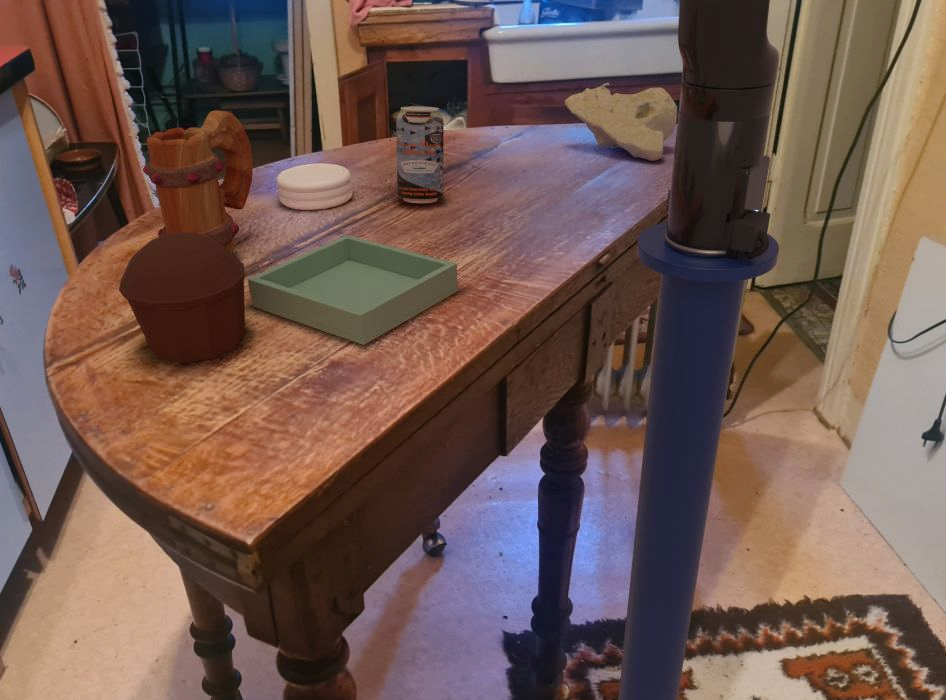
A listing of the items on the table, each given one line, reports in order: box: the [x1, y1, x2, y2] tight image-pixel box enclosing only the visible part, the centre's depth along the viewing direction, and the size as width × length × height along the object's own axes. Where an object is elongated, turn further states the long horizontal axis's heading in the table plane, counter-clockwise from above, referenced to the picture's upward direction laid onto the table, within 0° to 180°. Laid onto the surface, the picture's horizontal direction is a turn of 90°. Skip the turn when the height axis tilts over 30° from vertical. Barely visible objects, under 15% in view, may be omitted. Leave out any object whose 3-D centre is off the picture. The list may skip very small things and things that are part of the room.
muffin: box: [118, 233, 246, 364], centre depth 79 cm, size 12×11×10 cm
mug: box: [142, 109, 254, 254], centre depth 97 cm, size 15×8×15 cm, turn 151°
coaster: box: [275, 163, 354, 211], centre depth 115 cm, size 10×10×4 cm
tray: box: [247, 234, 459, 346], centre depth 88 cm, size 16×15×3 cm
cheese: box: [564, 82, 678, 162], centre depth 129 cm, size 15×7×15 cm
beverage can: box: [395, 105, 445, 204], centre depth 111 cm, size 6×7×12 cm
